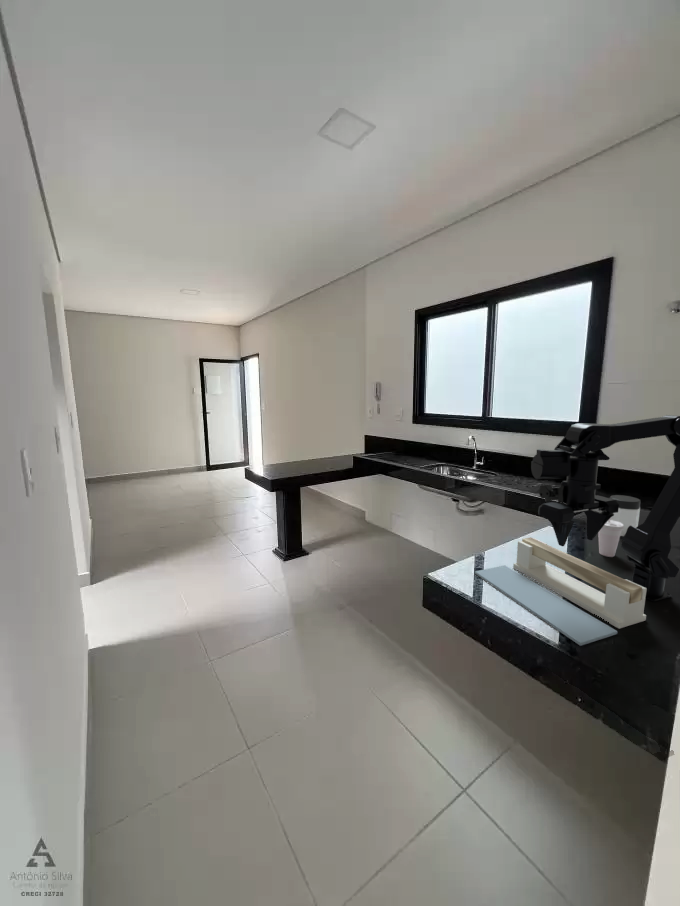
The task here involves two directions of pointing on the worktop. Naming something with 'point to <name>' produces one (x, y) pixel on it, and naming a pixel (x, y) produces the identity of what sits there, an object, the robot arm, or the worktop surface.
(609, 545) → the smoothie
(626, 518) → the jar
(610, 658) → the worktop surface
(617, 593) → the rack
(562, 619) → the mat
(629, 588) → the rail
